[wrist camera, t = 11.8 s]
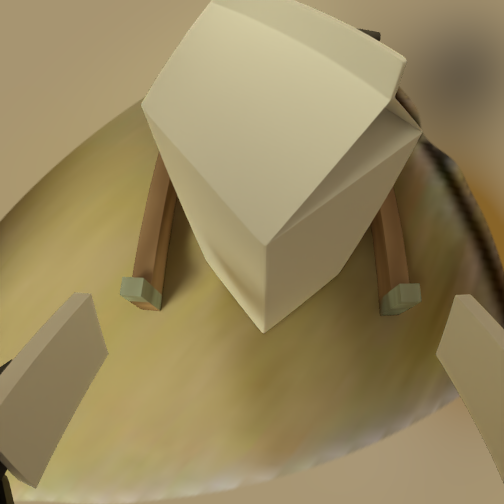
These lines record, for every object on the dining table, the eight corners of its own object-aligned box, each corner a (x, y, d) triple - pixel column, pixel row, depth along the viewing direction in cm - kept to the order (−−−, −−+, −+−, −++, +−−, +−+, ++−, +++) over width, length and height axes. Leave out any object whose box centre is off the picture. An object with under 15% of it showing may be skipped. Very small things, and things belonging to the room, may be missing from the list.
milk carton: (263, 334, 22) (263, 125, 4) (204, 259, 24) (106, 12, 6) (338, 274, 23) (466, 40, 6) (278, 208, 25) (291, -40, 8)
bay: (141, 309, 22) (62, 253, 12) (181, 108, 30) (159, 23, 21) (397, 315, 22) (481, 262, 12) (362, 112, 30) (386, 28, 20)
